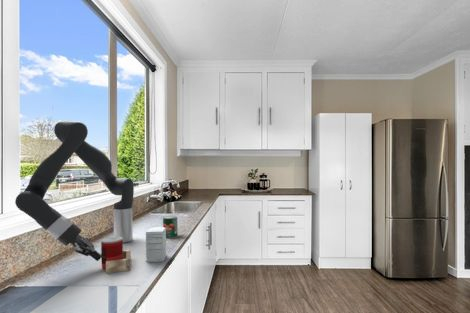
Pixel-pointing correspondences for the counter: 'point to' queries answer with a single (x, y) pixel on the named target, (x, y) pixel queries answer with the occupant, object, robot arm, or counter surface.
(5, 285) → the counter surface
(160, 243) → the supplement box
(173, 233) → the canned tomato
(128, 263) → the wooden bracket
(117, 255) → the canned food
